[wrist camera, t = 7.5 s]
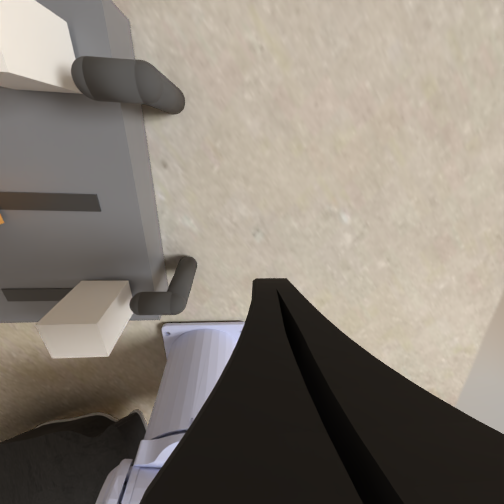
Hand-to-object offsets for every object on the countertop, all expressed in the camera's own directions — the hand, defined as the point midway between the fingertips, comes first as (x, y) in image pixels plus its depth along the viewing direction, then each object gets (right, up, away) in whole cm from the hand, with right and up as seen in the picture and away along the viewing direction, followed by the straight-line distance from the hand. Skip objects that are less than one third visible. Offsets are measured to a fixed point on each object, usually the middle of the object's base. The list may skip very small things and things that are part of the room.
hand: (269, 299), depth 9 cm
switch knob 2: (-11, -1, +7) cm, 13 cm away
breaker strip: (-14, +6, +6) cm, 16 cm away
